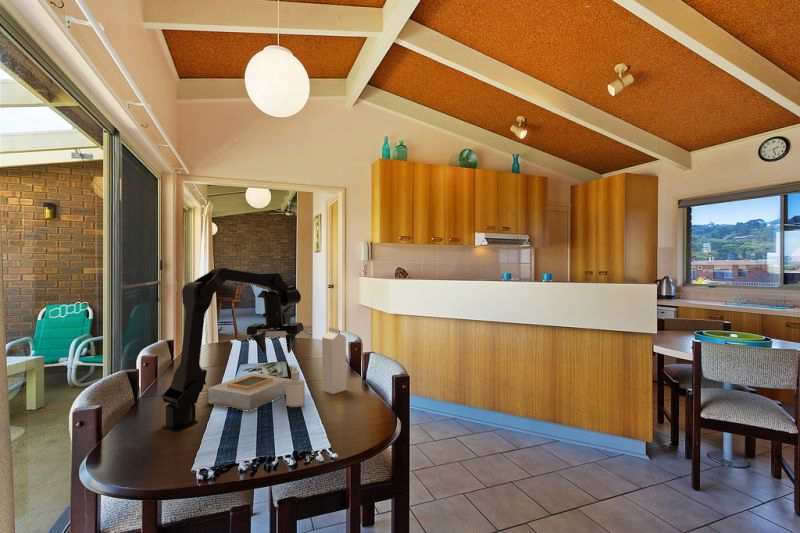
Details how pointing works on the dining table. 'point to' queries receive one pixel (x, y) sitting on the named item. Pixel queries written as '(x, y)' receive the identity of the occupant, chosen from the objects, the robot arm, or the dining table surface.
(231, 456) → the dining table surface
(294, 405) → the eye dropper bottle
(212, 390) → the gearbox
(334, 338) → the milk
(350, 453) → the dining table surface
